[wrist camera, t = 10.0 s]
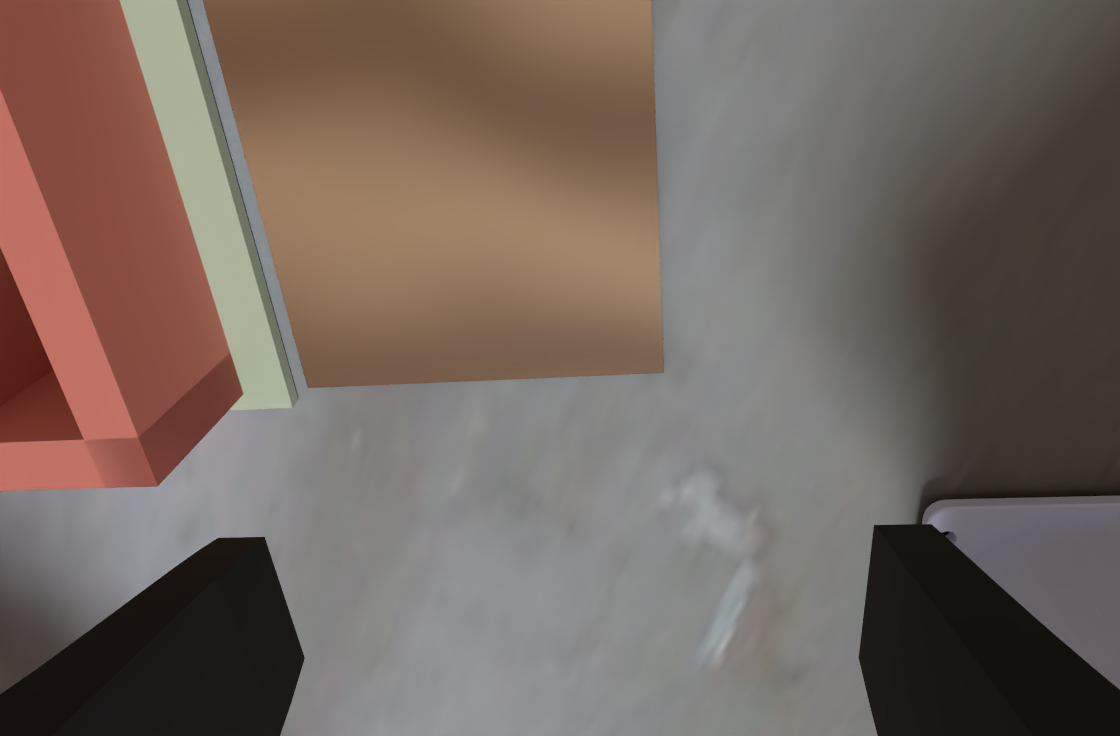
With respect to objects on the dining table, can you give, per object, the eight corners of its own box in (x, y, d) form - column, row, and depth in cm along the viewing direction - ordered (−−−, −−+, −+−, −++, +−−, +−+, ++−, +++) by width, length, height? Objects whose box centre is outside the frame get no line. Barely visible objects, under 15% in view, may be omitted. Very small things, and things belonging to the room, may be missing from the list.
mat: (298, 400, 20) (292, 407, 20) (20, 411, 21) (9, 418, 21) (163, -86, 15) (151, -87, 15) (-193, -42, 16) (-212, -44, 16)
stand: (663, 367, 19) (674, 497, 14) (312, 382, 20) (212, 509, 15) (637, -399, 12) (639, -628, 8) (125, -318, 13) (-146, -477, 9)
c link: (243, 394, 20) (157, 486, 16) (43, 402, 20) (-82, 493, 17) (104, -49, 15) (-57, -56, 12) (-147, -20, 16) (-373, -19, 12)
